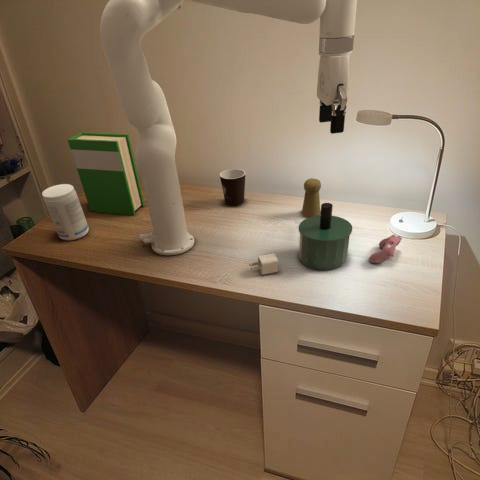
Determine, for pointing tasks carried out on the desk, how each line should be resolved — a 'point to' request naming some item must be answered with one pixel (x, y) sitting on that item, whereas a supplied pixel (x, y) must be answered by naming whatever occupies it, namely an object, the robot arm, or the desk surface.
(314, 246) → the tin
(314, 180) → the olive pawn figure
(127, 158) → the hardback book
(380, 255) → the pink toy animal
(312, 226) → the tin lid
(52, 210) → the supplement tub
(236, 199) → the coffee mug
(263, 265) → the usb wall charger
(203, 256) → the desk surface
